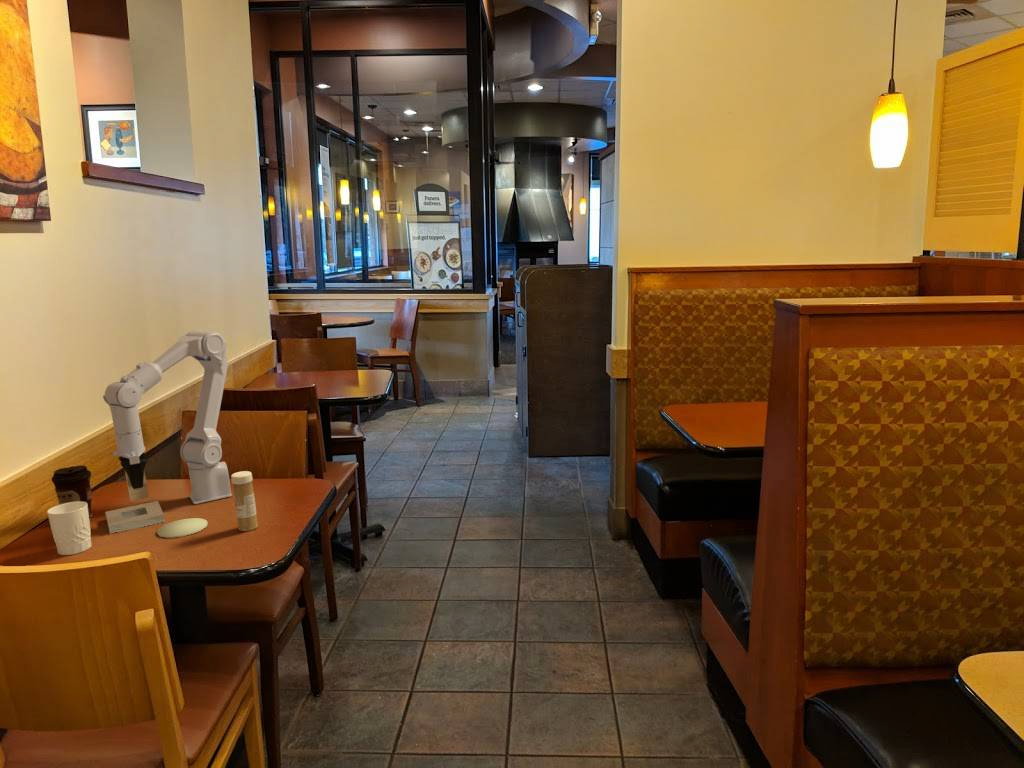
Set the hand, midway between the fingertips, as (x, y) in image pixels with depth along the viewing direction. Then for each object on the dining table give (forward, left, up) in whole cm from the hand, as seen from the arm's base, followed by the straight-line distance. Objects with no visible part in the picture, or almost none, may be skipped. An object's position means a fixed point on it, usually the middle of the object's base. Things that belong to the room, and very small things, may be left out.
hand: (137, 485), depth 185 cm
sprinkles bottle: (-20, +22, -10) cm, 31 cm away
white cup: (+15, +9, -10) cm, 20 cm away
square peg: (0, 0, -3) cm, 3 cm away
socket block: (+2, -2, -9) cm, 10 cm away
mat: (-7, +12, -9) cm, 17 cm away
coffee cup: (+14, -14, -10) cm, 22 cm away
